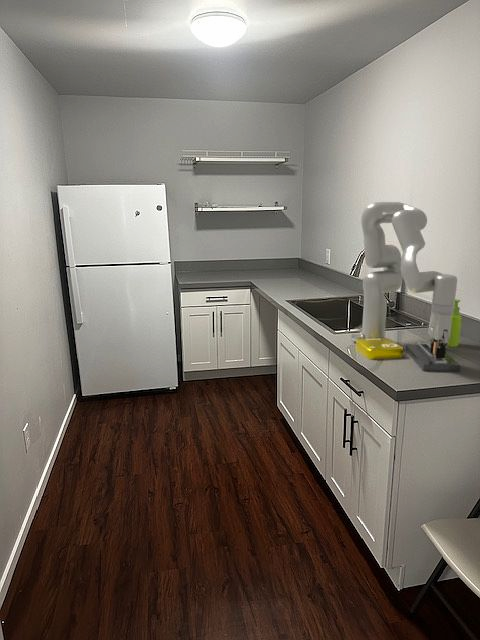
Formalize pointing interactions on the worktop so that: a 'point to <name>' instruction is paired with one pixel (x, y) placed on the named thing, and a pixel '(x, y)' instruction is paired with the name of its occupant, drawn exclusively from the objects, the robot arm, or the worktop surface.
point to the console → (430, 358)
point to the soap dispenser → (455, 326)
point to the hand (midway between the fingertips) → (437, 354)
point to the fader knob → (435, 350)
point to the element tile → (379, 348)
